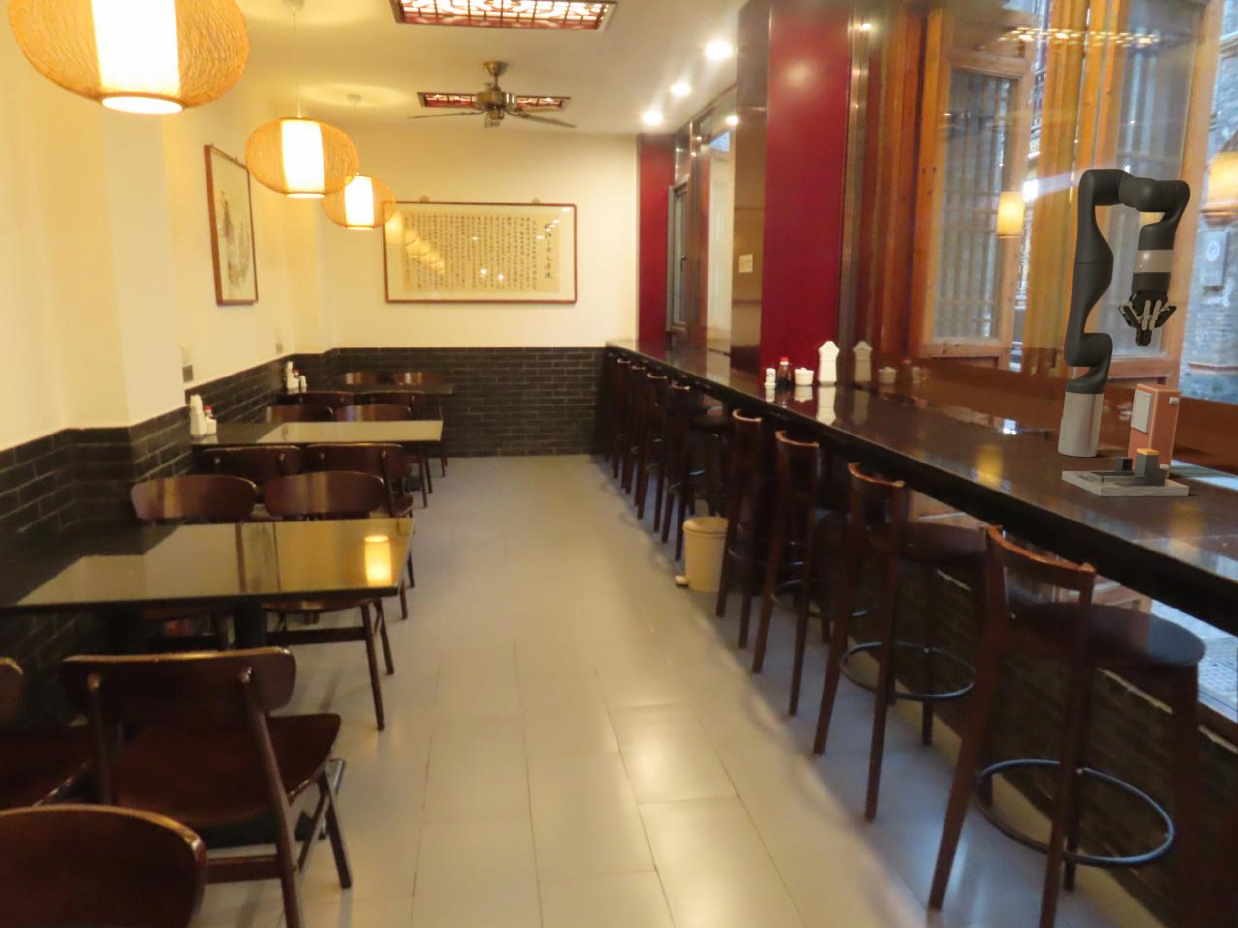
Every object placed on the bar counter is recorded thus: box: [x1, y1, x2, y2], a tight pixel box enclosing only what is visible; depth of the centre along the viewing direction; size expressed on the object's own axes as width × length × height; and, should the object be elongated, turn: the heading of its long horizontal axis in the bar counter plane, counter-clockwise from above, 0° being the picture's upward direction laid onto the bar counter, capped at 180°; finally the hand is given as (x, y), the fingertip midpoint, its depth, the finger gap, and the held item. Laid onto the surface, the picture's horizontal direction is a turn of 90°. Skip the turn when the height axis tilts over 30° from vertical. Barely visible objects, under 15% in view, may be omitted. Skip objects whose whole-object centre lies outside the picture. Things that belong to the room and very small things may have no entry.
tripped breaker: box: [1133, 449, 1159, 476], centre depth 196 cm, size 4×3×6 cm
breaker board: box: [1061, 456, 1190, 497], centre depth 197 cm, size 16×20×6 cm
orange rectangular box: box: [1127, 383, 1182, 478], centre depth 211 cm, size 21×7×15 cm
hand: (1142, 346), depth 199 cm, fingers closed
